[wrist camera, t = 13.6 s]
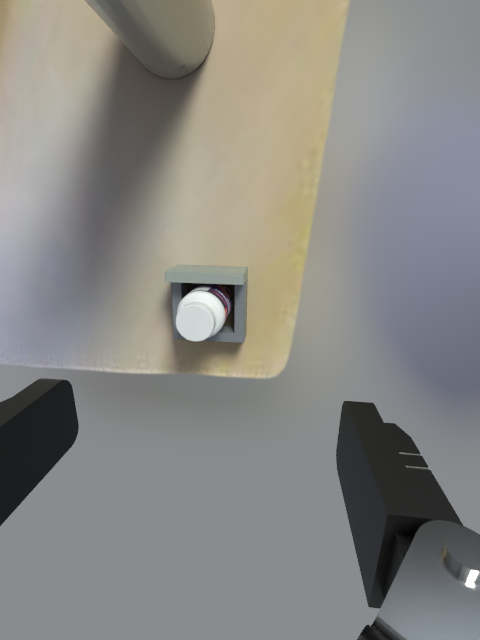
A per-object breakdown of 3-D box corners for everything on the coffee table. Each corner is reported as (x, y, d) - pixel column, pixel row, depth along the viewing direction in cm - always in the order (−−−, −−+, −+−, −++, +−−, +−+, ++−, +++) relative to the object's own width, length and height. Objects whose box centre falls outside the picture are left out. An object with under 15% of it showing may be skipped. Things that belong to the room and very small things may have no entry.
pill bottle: (238, 314, 42) (227, 341, 33) (200, 324, 43) (179, 353, 34) (226, 274, 41) (210, 291, 32) (186, 286, 42) (160, 305, 33)
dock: (177, 264, 41) (164, 271, 36) (247, 267, 40) (243, 274, 35) (180, 330, 44) (169, 344, 39) (246, 334, 43) (242, 349, 38)
